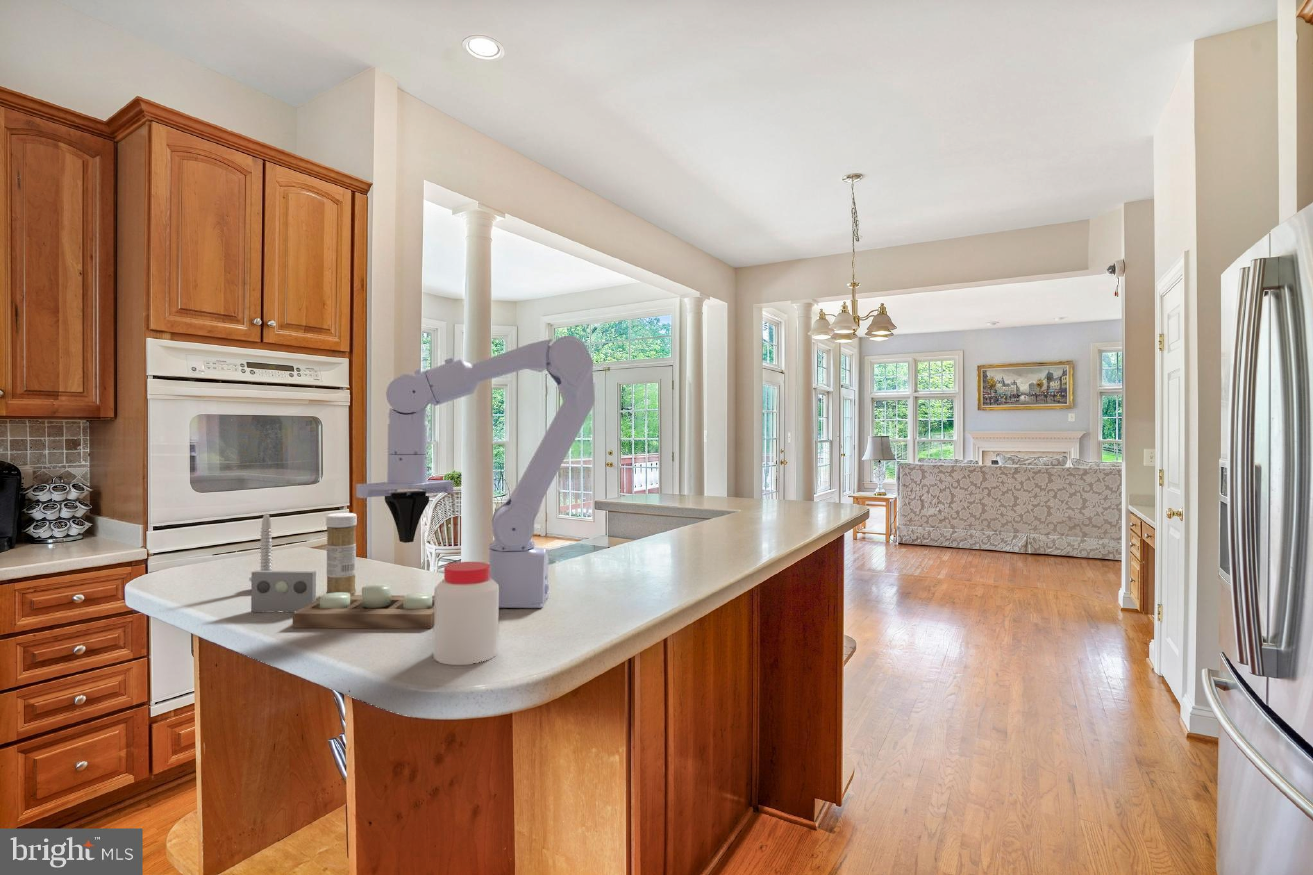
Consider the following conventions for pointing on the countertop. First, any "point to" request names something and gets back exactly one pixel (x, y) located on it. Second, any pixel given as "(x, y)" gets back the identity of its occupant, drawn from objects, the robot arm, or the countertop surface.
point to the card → (282, 590)
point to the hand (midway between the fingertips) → (406, 541)
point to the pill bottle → (466, 614)
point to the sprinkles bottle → (341, 552)
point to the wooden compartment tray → (364, 616)
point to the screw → (265, 545)
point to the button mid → (376, 595)
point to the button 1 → (335, 600)
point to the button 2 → (417, 601)
